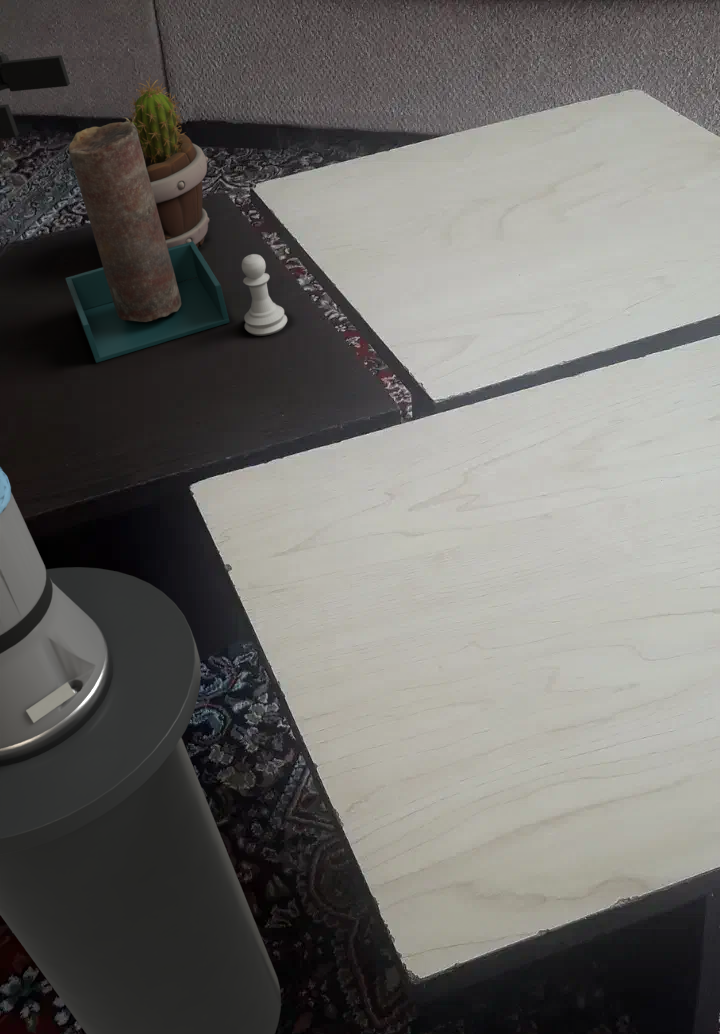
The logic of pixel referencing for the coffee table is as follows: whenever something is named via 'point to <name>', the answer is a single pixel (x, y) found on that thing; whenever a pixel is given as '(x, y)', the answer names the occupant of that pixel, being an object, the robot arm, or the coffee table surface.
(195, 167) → the flowerpot
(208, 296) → the teal tray
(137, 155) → the rusty brown cylinder
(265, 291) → the chess piece
